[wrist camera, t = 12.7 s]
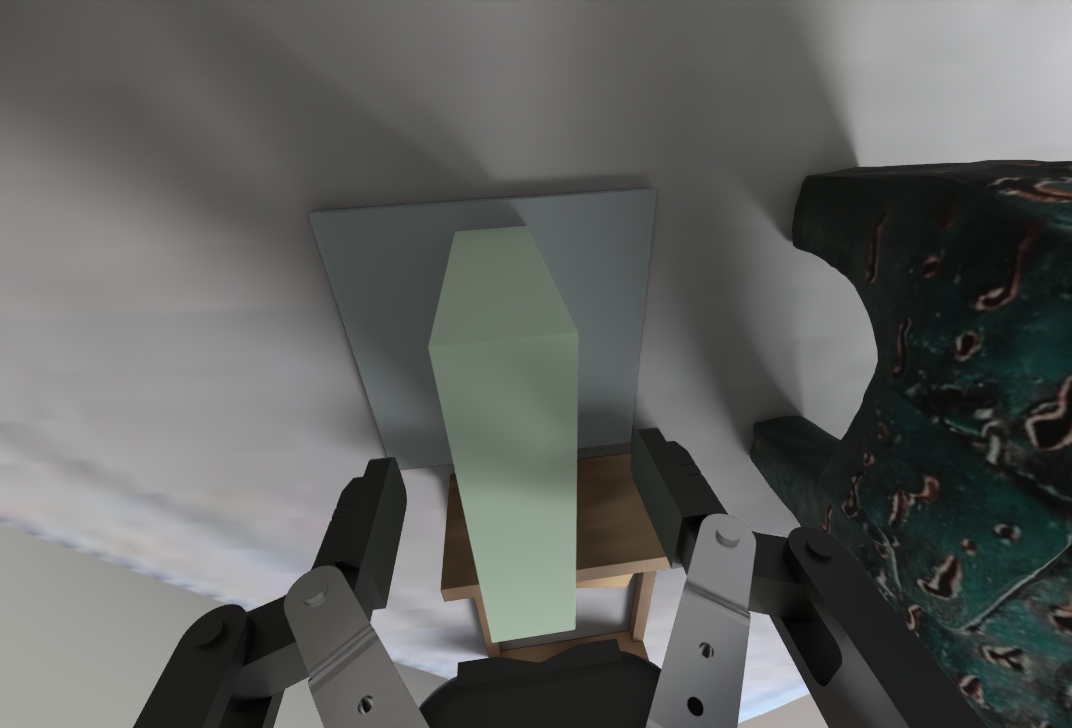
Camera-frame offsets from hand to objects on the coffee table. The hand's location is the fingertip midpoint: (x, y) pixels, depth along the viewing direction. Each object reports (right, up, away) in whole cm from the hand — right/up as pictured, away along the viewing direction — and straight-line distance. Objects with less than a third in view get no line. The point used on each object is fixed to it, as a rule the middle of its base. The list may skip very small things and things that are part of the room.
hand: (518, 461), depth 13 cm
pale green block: (-1, +4, +6) cm, 7 cm away
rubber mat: (-1, +4, +7) cm, 8 cm away
